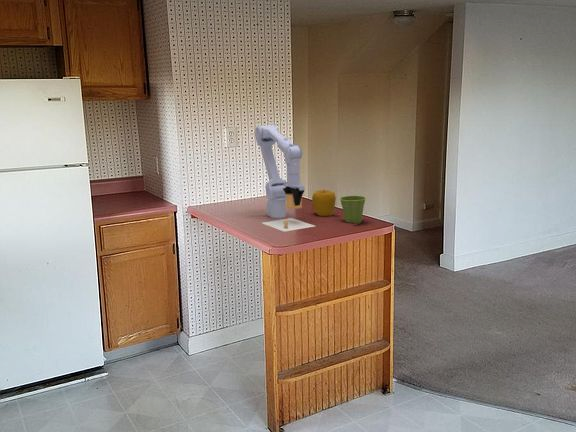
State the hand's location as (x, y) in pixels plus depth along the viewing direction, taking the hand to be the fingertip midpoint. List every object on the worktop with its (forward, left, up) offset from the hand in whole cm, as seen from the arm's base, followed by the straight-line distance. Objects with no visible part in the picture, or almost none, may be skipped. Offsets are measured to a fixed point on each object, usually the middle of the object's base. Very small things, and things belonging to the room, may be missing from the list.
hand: (293, 204), depth 254 cm
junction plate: (+2, -5, -9) cm, 10 cm away
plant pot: (+13, +22, -9) cm, 28 cm away
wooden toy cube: (0, 0, -1) cm, 1 cm away
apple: (-5, +19, -9) cm, 22 cm away
